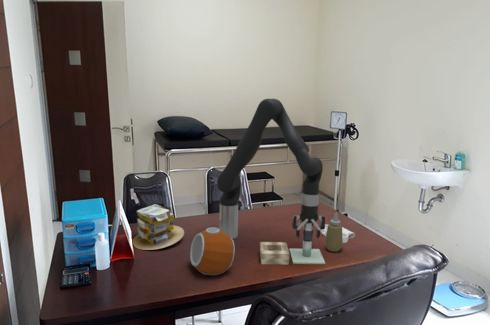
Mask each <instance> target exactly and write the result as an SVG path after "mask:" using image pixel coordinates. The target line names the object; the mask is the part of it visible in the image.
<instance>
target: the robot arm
mask: <svg viewBox="0 0 490 325" xmlns="http://www.w3.org/2000/svg"><path fill="white" fill-rule="evenodd" d="M253 114H254V115H253V117H252V119H251V121H250V124H248V127H247V128H246V130H245V132H244V133H243V136H242V137H241V138H240V140H239V142H238V144H237V145H236V148H235V150H234V152H233V153H232V155H231V157H230V159H229V160H228V163H227V165H226V166H225V167H224V169H223V170H222V171H221V173H220V174H219V176H218V177H217V181H216V186H217V189H218V190H219V191H220V192H222V195H221V196H220V198H219V219H218V220H219V221H218V222H219V223H218V229H219V230H221V231H223V232H225V233H227V234H228V235H229V236H230V238H232V240H234V239H237V238H238V234H239V230H238V228H239V200H240V198H241V184H242V181H241V177H240V173H241V172H242V170H244V169H245V167H246V166H247V165H248V164H250V162H251V161H252V160H253V158H254V157H255V156H256V154H257V153H258V150H259V148H260V146H261V144H262V140H263V138H262V137H263V133H264V131H265V129H266V127H267V126H268V125H269V123H270V122H271V120H272V121H273V122H274V123H275V124H276V125H277V126H278V128H279V129H280V131H281V133H282V136H283V139H284V142H285V143H286V145H287V147H288V149H289V150H290V152H291V153H292V154H293V156H294V157H295V159H296V162H297V164H298V168H299V169H300V170H301V172H302V173H303V174H304V175H305V176H306V178H305V179H304V180H303V182H302V193H301V197H300V198H301V199H300V203H301V204H300V214H299V215H297V214H295V213H293V215H292V224H291V225H292V229H294V230H295V236H296V237H297V238H298V239H300V237H301V236H300V232H301V228H302V227H303V228H304V225H305V224H306V223H313V226H314V227H315V228H316V231H315V238H316V239H319V238H320V237H321V230H322V229H325V225H326V217H325V215H323V214H321V215H319V201H320V196H319V194H320V190H319V189H320V182H321V178H322V175H323V170H324V169H323V166H324V165H323V162H322V160H321V159H320V158H318V157H316V156H315V157H311V155H310V153H309V152H310V148H309V147H308V145H307V143H306V142H305V141H304V139H303V138H302V136H301V135H300V133H299V132H298V130H297V129H296V127H295V126H294V124H293V123H292V122H293V121H291V118H290V117H289V114H288V112H287V111H286V109H285V107H284V105H283V103H282V102H281V101H280V100H279V99H277V98H265V99H263V100H261V101H260V102H259V104H258V106H257V108H256V110H255V113H253ZM298 220H300V221H299V222H298V223H297V221H298ZM318 220H319V221H320V225H319V224H318V222H317V221H318Z"/></svg>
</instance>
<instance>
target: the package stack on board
mask: <svg viewBox="0 0 490 325" xmlns="http://www.w3.org/2000/svg"><path fill="white" fill-rule="evenodd" d="M136 214H137V218H136V222H137V225H138V226H137V234H136V236H134V238H133V239H132V241H133V243H132V245H133V246H134V247H135V248H137V249H138V250H144V251H145V250H146V251H149V250H150V251H151V250H153V251H154V250H159V249H163V248H167V247H169V246H172V245H174V244H177V242H179V241H180V240H182V238H183V237H184V236H185V230H184V228H182V227H181V226H178V225H174V223H175V222H174V221H173V220H175V215H174V214H173V213H171V211H170V209H168V208H166V207H164V206H161V205H159V204H151V205H149V206H146V207H142V208H140V209H138V210H136Z"/></svg>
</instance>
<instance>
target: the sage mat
mask: <svg viewBox="0 0 490 325" xmlns="http://www.w3.org/2000/svg"><path fill="white" fill-rule="evenodd" d="M288 250H289V255H290V256H291V260H292V264H293V265H294V264H297V265H298V264H299V265H300V264H303V265H326V262H325V258H324V257H323V254H322V252H321V250H320V248H311V257H304V256H302V248H289V247H288Z"/></svg>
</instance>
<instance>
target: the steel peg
mask: <svg viewBox="0 0 490 325" xmlns="http://www.w3.org/2000/svg"><path fill="white" fill-rule="evenodd" d="M313 234H314V225H313V223H306V224H305V225H303V229H302V248H301V249H302V256H304V257H311V249H313V248H312V245H313V236H314V235H313Z"/></svg>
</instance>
